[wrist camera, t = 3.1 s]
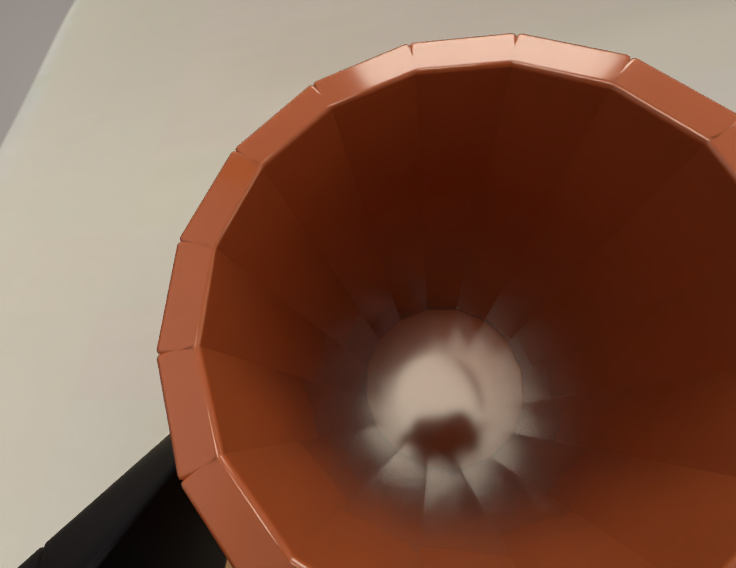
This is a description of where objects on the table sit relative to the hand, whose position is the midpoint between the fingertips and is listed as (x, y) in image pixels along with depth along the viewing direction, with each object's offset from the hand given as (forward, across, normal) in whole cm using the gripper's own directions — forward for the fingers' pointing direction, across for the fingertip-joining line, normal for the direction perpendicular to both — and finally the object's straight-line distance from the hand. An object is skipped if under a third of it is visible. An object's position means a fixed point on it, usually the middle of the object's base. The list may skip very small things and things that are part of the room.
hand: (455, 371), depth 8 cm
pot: (+6, 0, +6) cm, 8 cm away
